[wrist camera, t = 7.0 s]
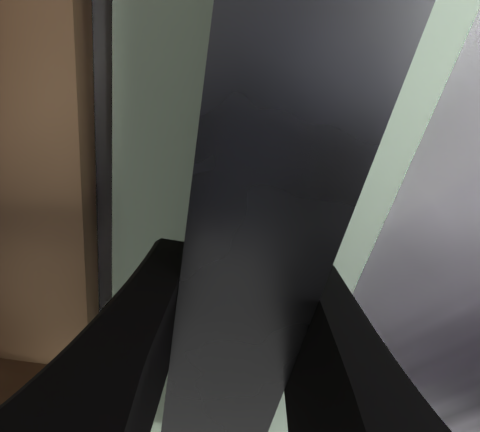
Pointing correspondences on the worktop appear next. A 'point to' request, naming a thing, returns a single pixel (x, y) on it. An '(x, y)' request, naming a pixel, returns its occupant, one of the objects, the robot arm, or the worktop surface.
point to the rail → (276, 190)
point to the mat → (187, 120)
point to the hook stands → (45, 184)
